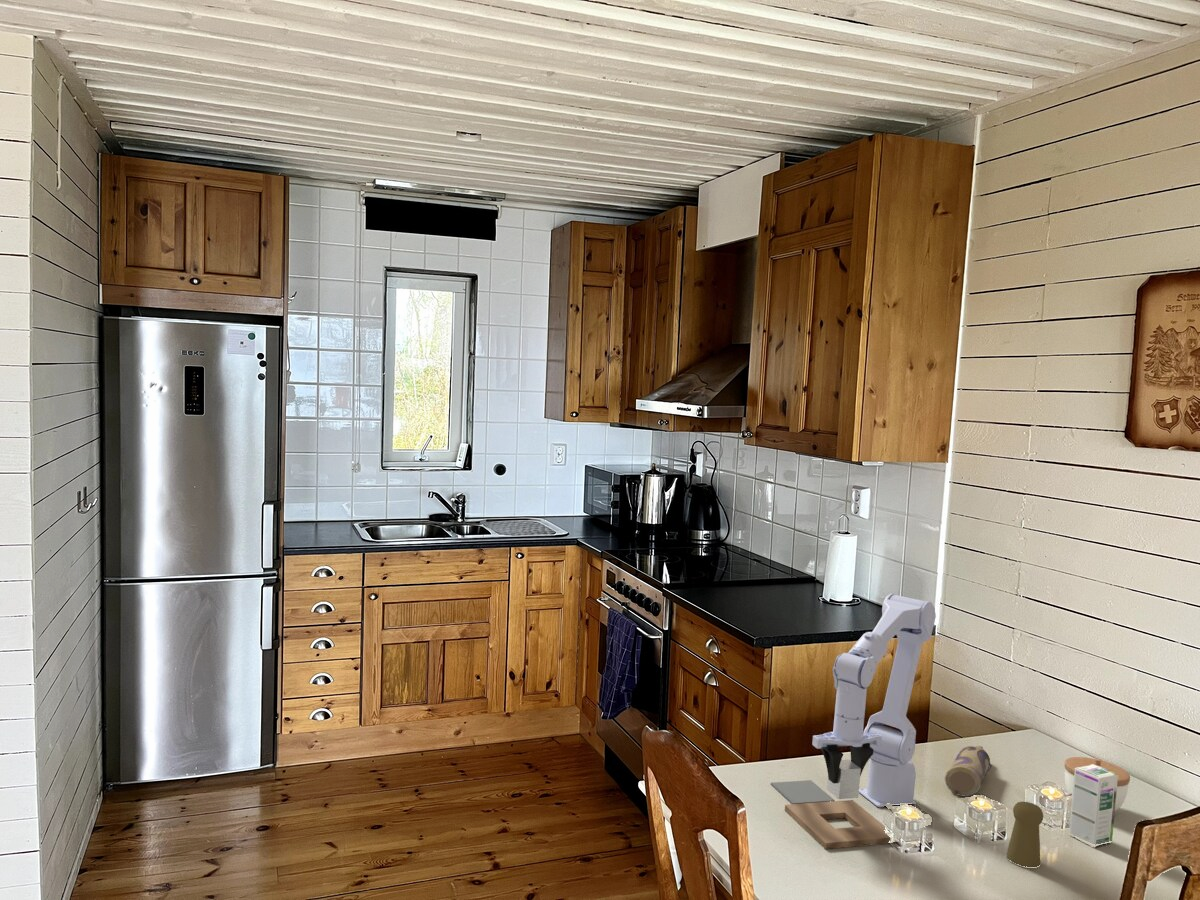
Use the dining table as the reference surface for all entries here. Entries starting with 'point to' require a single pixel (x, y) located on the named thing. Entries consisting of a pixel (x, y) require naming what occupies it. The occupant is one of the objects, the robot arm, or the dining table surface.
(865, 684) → the robot arm
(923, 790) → the dining table surface
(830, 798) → the gray square plate
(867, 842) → the walnut hole plate
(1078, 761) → the lidded bowl
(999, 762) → the dining table surface
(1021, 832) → the olive pawn figure
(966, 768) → the decorative bottle
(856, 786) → the steel plug
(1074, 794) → the syrup box
